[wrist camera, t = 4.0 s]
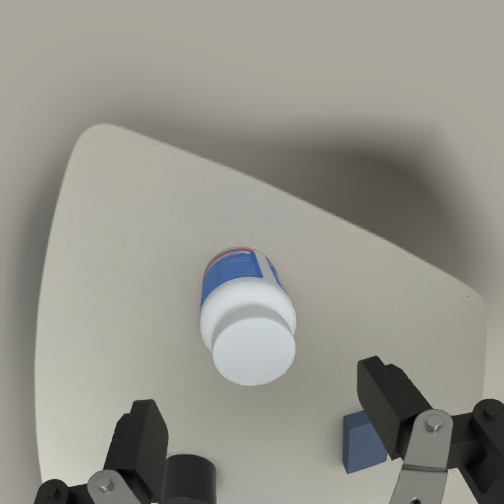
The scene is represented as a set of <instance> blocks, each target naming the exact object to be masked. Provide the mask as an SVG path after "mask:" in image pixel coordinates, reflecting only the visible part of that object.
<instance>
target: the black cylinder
mask: <svg viewBox="0 0 504 504" xmlns="http://www.w3.org/2000/svg"><path fill="white" fill-rule="evenodd" d="M158 504H217V500H216V469H215V467H214V465H213V464H212V463H211V462H210V461H208V460H206V459H204V458H202V457H199V456H195V455H185V454H184V455H175V456H172V457H169V458H168V459H166V462H165V471H164V479H163V488H162V498H161V503H158Z"/></svg>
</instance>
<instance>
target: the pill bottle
mask: <svg viewBox="0 0 504 504" xmlns="http://www.w3.org/2000/svg"><path fill="white" fill-rule="evenodd" d="M199 326H200V333H201V337H202V339H203V341H204V343H205V345H206V346H207V348H208V349H209V350H210V351H211V352H212V356H213V361H214V364H215V366H216V368H217V370H218V371H219V373H220V374H221V375H222V376H223V377H225V378H226V379H228V380H229V381H231V382H233V383H236V384H239V385H244V386H258V385H263V384H267V383H270V382H272V381H274V380H276V379H278V378H279V377H281V376H282V375H283V374H284V373H285V372H286V371H287V370H288V369H289V367H290V366H291V364H292V362H293V360H294V357H295V341H294V338H293V336H294V334H295V330H296V313H295V309H294V306H293V304H292V302H291V299H290V297H289V295H288V293H287V292H286V289H285V288H284V286H283V284H282V282H281V280H280V278H279V276H278V274H277V272H276V270H275V268H274V267H273V265H272V263H271V262H270V261H269V260H268V259H267V257H265V256H264V255H263V254H262V253H260V252H258V251H256V250H254V249H251V248H246V247H236V248H231V249H228V250H225V251H223V252H221V253H220V254H218V255H217V256H216V257H215V258H214V259H213V260H212V261H211V262H210V263H209V265H208V267H207V268H206V271H205V274H204V278H203V287H202V297H201V308H200V320H199Z"/></svg>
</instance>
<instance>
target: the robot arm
mask: <svg viewBox="0 0 504 504" xmlns="http://www.w3.org/2000/svg"><path fill="white" fill-rule="evenodd" d="M357 393H358V398H359V401H360V403H361V405H362V407H363V409H364V411H365V412H366V414H367V416H368V418H369V420H370V421H371V423H372V425H373V427H374V429H375V431H376V432H377V434H378V436H379V438H380V440H381V441H382V443H383V445H384V447H385V449H386V451H387V453H388V454H389V456H390V458H391V460H394V459H397V458H399V457H401V458H402V460H403V465H402V468H401V471H400V474H399V477H398V480H397V483H396V486H395V489H394V491H393V494H392V497H391V500H390V502H389V504H441V501H442V498H443V494H444V490H445V485H446V480H447V475H448V470H447V469H452V468H457V467H458V469H459V471H460V472H461V474H462V476H463V478H464V479H465V481H466V483H467V484H468V486H469V488H470V490H471V492H472V493H473V495H474V497H475V499H476V500H477V502H478V504H504V404H503V403H502V402H500V401H498V400H495V399H485V400H482V401H480V402H478V403H477V404H476V405H475V407H474V409H473V412H471V413H466V414H461V415H455V416H450V415H449V414H448V413H447V412H445V411H443V410H439V409H433V408H432V407H431V406H430V404H429V403H428V402H427V400H426V399H425V398H424V397H423V395H422V394H421V393H420V392H419V390H418V389H417V388H416V387H415V385H413V383H412V382H411V380H410V379H408V377H407V375H406V374H405V373H404V372H403V370H402V369H400V368H398V367H396V366H395V365H393V364H389V365H386V366H385V365H384V364H383V362H382V361H381V360H380V358H379V357H378V356H373V357H370V358H366V359H363V360H360V361H358V365H357ZM167 446H168V430H167V426H166V424H165V422H164V420H163V418H162V416H161V413H160V411H159V409H158V407H157V405H156V403H155V401H154V400H153V399H149V400H136V401H134V402H133V405H132V408H131V412H130V413H126V414H124V415H123V416H122V417H121V418H120V420H119V421H118V422H117V425H116V428H115V431H114V434H113V437H112V442H111V444H110V447H109V451H108V454H107V457H106V461H105V464H104V468H103V470H101V471H99V472H97V473H95V474H94V475H92V477H91V478H90V479H89V481H88V483H87V484H83V485H77V486H72V487H68V486H67V485H66V484H65V483H64V482H63V481H61V480H58V479H51V480H48V481H46V482H44V483H43V484H42V485H41V486H40V488H39V490H38V492H37V495H36V499H35V502H34V504H151V503H161V498H162V488H163V479H164V471H165V462H166V454H167Z"/></svg>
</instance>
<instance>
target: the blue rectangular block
mask: <svg viewBox="0 0 504 504" xmlns="http://www.w3.org/2000/svg"><path fill="white" fill-rule="evenodd" d="M386 458H387V451H386V449H385V447H384V445H383V443H382V441H381V440H380V438H379V436H378V434H377V432H376V431H375V429H374V427H373V425H372V423H371V421H370V420H369V418H368V416H367V414H366V412H365V411H362V412H359V413H356V414H352V415H349V416H345V417H344V444H343V464H344V467H345V470H346V472H347V474H349V473H352V472H356V471H359V470H362V469H365V468H368V467H371V466H374V465H377V464H379V463H382V462H385V461H386Z"/></svg>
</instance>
